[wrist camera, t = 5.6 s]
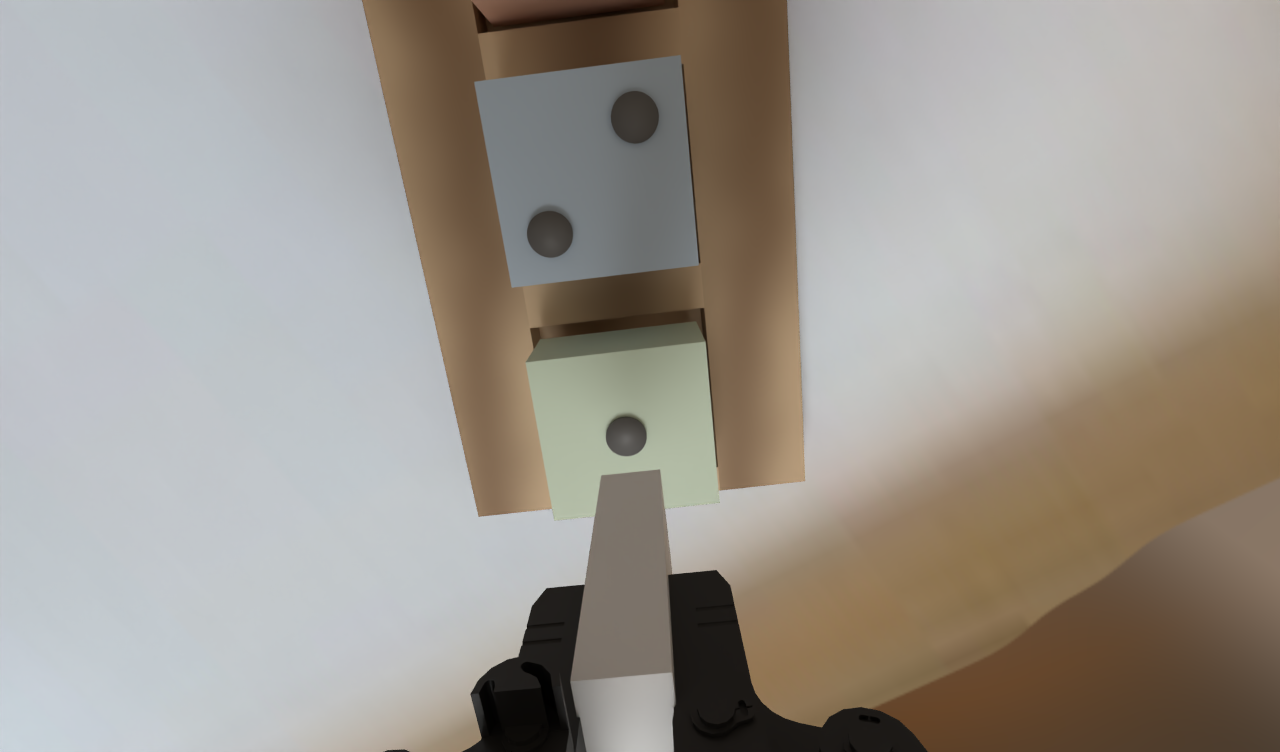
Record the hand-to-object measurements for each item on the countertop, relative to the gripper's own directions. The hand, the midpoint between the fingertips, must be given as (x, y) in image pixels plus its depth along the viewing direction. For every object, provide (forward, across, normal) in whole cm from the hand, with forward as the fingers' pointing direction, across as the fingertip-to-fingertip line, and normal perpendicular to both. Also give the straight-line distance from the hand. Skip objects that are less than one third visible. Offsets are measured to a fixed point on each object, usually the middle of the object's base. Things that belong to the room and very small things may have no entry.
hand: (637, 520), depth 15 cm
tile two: (+9, 0, +9) cm, 12 cm away
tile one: (+9, 0, 0) cm, 9 cm away
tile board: (+12, 0, +8) cm, 14 cm away
